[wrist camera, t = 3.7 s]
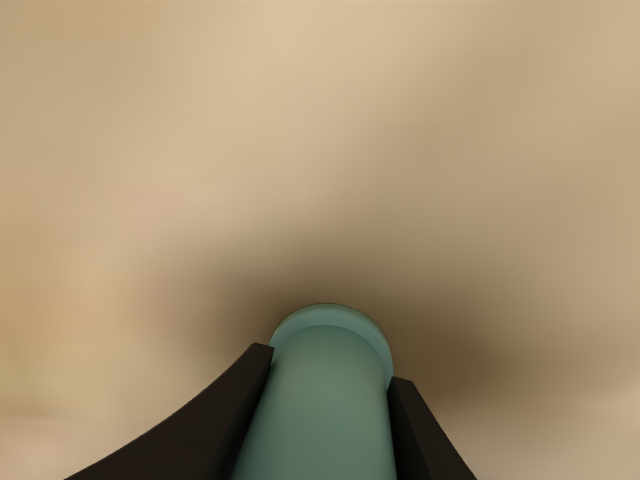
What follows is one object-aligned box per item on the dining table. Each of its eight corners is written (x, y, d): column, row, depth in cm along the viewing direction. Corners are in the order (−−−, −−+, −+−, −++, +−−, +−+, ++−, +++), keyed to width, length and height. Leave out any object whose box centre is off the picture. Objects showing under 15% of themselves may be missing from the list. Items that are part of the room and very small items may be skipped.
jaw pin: (261, 390, 12) (178, 616, 6) (280, 290, 11) (198, 462, 5) (373, 419, 12) (388, 673, 6) (406, 320, 11) (465, 531, 5)
